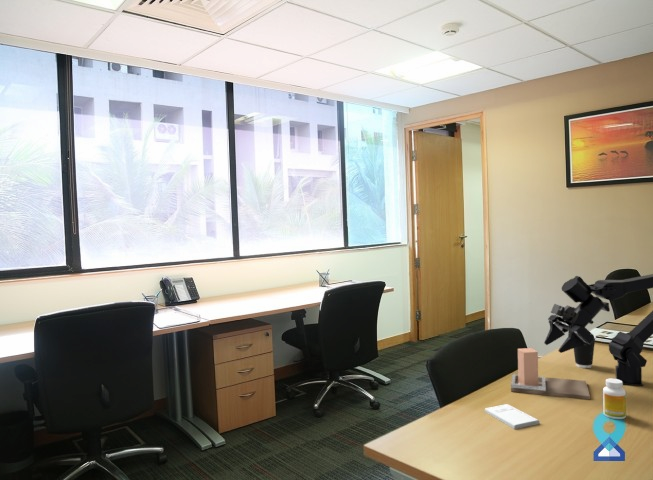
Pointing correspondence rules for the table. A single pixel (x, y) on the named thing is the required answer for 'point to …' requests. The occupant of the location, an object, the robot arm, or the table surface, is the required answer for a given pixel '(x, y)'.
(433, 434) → the table surface
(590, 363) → the dixie cup
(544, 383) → the board
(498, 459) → the table surface
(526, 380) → the terracotta pin
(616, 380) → the supplement bottle
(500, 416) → the external hard drive
